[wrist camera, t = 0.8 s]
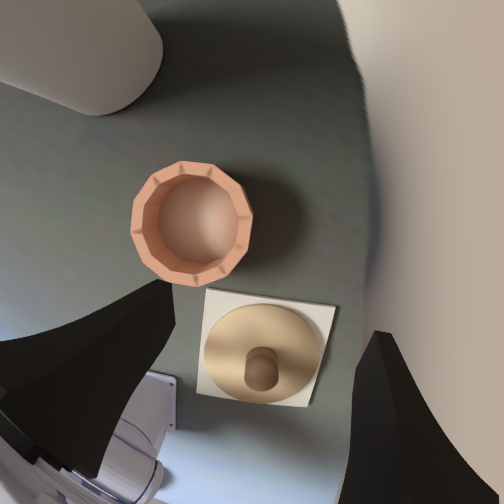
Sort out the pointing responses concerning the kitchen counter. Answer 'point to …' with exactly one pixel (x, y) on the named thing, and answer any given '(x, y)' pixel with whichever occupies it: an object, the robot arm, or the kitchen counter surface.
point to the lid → (261, 353)
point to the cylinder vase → (79, 51)
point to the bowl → (191, 223)
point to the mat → (227, 301)
